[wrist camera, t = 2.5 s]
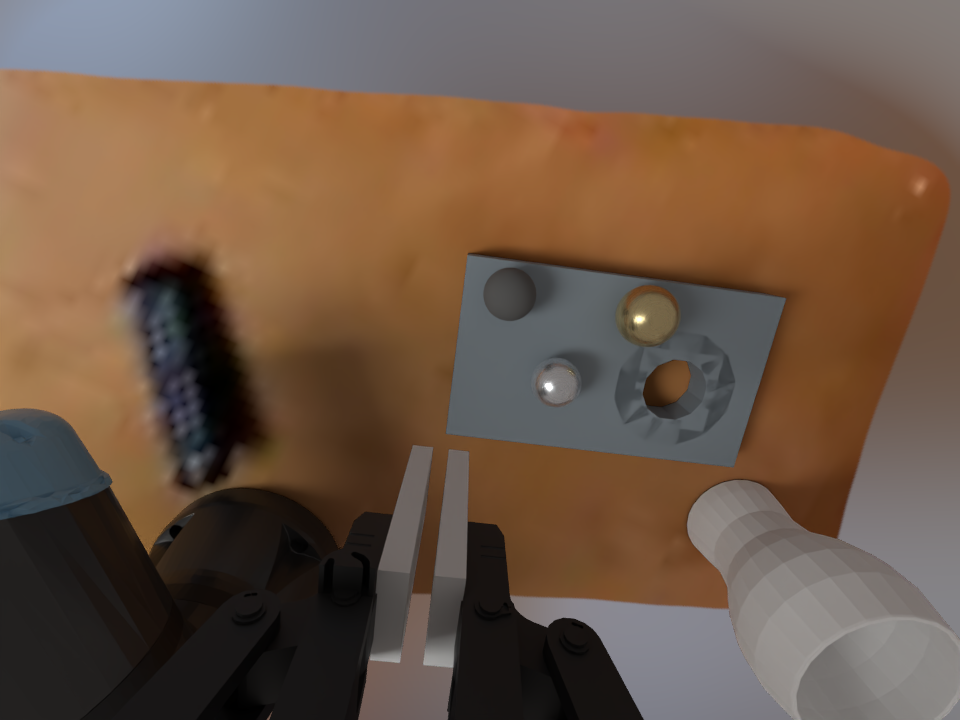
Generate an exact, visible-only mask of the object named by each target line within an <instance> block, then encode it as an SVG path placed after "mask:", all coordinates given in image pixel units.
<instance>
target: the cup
mask: <svg viewBox="0 0 960 720" xmlns="http://www.w3.org/2000/svg"><path fill="white" fill-rule="evenodd" d="M687 529H688V535H689V537H690V539H691V542H692V544H693V545H694V546H695V547H696V548H697V549H698V550H699V551H700V552H701V553H702V554H703V556H704V557H705V558H706V559H707V560H708V561H709V562H710V563H712V564H713V565H714V566H715V567H716V568H717V569H718V570H719V571H720V573H721V575H722V577H723V579H724V581H725V583H726V585H727V589H728V605H729V614H730V618H731V621H732V625H733V628H734V632H735V635H736V638H737V642H738V645H739V647H740V649H741V651H742V653H743V655H744V657H745V659H746V660H747V662H748V664H749V665H750V667H751V669H752V670H753V672H754V673H755V675H756V676H757V678H758V680H759V682H760V683H761V685H762V686H763V688H764V689H765V690H766V691H767V692H768V693H769V694H770V695H771V696H772V698H773V699H774V700H775V701H776V702H777V703H779V705H780V706H781V707H782V708H783V709H784V710H785V711H786V712H787V713H788V714H789V715H790V717H792V719H793V720H942V719H943V718H944V717H945V716H946V715H948V714H949V713H950V711H951V710H952V709H953V707H954V706H955V705H956V703H957V702H958V700H959V699H960V639H959V638H958V636H957V635H956V634H955V633H954V631H953V630H952V629H951V628H950V627H949V625H948V624H947V623H946V622H945V621H944V619H943V618H942V617H941V616H940V614H939V613H938V612H937V611H936V609H935V608H934V607H933V606H932V605H931V603H930V602H929V601H928V600H927V599H926V597H925V596H924V595H923V594H922V593H921V591H920V590H919V589H918V588H917V587H915V586H914V585H913V584H912V583H911V582H909V581H908V580H907V579H906V578H904V577H903V576H902V575H901V574H899V573H898V572H897V571H896V570H894V569H893V568H892V567H891V566H889V565H888V564H887V563H885V562H883V561H882V560H880V559H878V558H877V557H875V556H873V555H872V554H870V553H867V552H865V551H863V550H861V549H859V548H856V547H854V546H852V545H850V544H848V543H846V542H844V541H842V540H839V539H836V538H832V537H828V536H825V535H821V534H817V533H812V532H809V531H808V530H806V529H805V528H803V527H802V526H800V525H799V524H797V523H796V522H794V521H793V520H792V519H791V517H790V516H789V515H788V513H787V512H786V510H785V509H784V508H783V506H782V505H781V504H780V503H779V502H778V500H777V499H776V498H775V497H774V496H773V495H772V494H771V492H770V491H769V490H768V489H767V488H765V487H764V486H762V485H760V484H759V483H756V482H752V481H748V480H732V481H728V482H723V483H720V484H718V485H716V486H714V487H712V488H710V489H709V490H707V491H706V492H705V493H704V494H702V495H701V496H700V497H699V498H698V500H697V501H696V502H695V503H694V504H693V507H692V509H691V511H690V513H689V516H688V521H687Z"/></svg>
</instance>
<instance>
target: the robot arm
mask: <svg viewBox="0 0 960 720" xmlns="http://www.w3.org/2000/svg"><path fill="white" fill-rule="evenodd" d="M432 453H433V447H426V446H417V445H413V447H412V450H411V454H410V457H409V461H408V464H407V468H406V471H405V475H404V478H403V482H402V485H401V489H400V493H399V496H398V500H397V503H396V507H395V510H394V514H393V515H390V514H381V513H371V512H364V513H363V514H362V515H361V516H360V517H358V518H357V519H356V520H355V521H354V523H353V525H352V528H351V530H350V533H349V535H348V537H347V540H346V543H345V545H344V547H343V549H340V550H338V548H337V546H336V543H335V541H334V539H333V538H332V536H331V534H330V533H329V531H328V530H327V529H326V527H325V526H324V525H323V524H322V523H321V522H320V521H319V520H318V519H317V518H316V517H315V516H314V515H313V514H312V513H311V512H309V511H308V510H307V509H305V508H304V507H302V506H301V505H299V504H297V503H296V502H294V501H292V500H290V499H288V498H285V497H283V496H280V495H277V494H274V493H270V492H267V491H262V490H255V489H230V490H223V491H219V492H215V493H212V494H209V495H206V496H204V497H202V498H200V499H198V500H196V501H194V502H193V503H191V504H190V505H189V506H187V507H186V508H185V509H184V510H183V511H182V512H181V513H180V514H179V515H178V516H177V517H175V518H174V519H173V520H172V521H171V522H170V523H169V524H168V525H167V526H166V528H165V529H164V530H163V531H162V532H161V534H160V535H159V537H158V538H157V540H156V541H155V543H154V545H153V547H152V549H151V551H150V554H149V555H148V553H147V551H146V550H145V548H144V546H143V544H142V543H141V541H140V539H139V537H138V536H137V534H136V532H135V530H134V528H133V527H132V525H131V523H130V521H129V520H128V518H127V516H126V514H125V512H124V511H123V509H122V507H121V505H120V504H119V502H118V500H117V498H116V497H115V495H114V493H113V491H112V489H111V488H110V485H111V484H112V479H111V478H110V476H109V474H107V473H105V472H104V471H102V470H100V469H99V467H98V466H97V464H96V463H95V461H94V459H93V458H92V456H91V455H90V453H89V452H88V450H87V449H86V447H85V446H84V444H83V443H82V441H81V440H80V438H79V437H78V435H77V434H76V432H75V430H74V429H73V428H72V426H71V425H70V424H69V423H68V422H67V421H65V420H64V419H63V418H61V417H59V416H57V415H55V414H53V413H50V412H47V411H43V410H37V409H25V408H23V409H10V410H3V411H0V720H267V718H268V717H269V715H270V713H271V712H272V711H273V712H272V714H271V717H270V719H269V720H358V717H359V713H360V708H361V703H362V698H363V693H364V688H365V683H366V675H367V664H368V659H369V656H370V660H375V661H386V662H396V663H400V659H401V653H402V647H403V642H404V636H405V630H406V624H407V618H408V612H409V607H410V600H411V595H412V589H413V583H414V577H415V571H416V566H417V560H418V554H419V548H420V542H421V536H422V531H423V525H424V519H425V513H426V505H427V497H428V488H429V479H430V471H431V462H432ZM468 478H469V451H460V450H452V449H449V453H448V461H447V469H446V477H445V485H444V493H443V501H442V509H441V517H440V525H439V534H438V543H437V551H436V560H435V568H434V577H433V585H432V594H431V603H430V611H429V620H428V628H427V637H426V645H425V654H424V663H423V665H428V666H439V667H450V668H453V676H452V683H451V689H450V696H449V702H448V709H447V711H448V712H449V713H448V720H644V719H643V717H642V716H641V714H640V712H639V710H638V708H637V706H636V704H635V703H634V701H633V699H632V697H631V695H630V693H629V691H628V689H627V688H626V686H625V684H624V682H623V680H622V678H621V676H620V675H619V673H618V671H617V669H616V667H615V665H614V663H613V661H612V660H611V658H610V656H609V654H608V652H607V650H606V648H605V647H604V645H603V643H602V641H601V639H600V638H599V636H598V635H597V634H596V632H595V631H594V630H593V629H592V628H591V627H589V626H588V625H586V624H585V623H583V622H580V621H578V620H576V619H571V618H561V619H558V620H555V621H553V623H551V624H550V625H549V627H548V628H547V627H544V626H542V625H539V624H537V623H534V622H532V621H530V620H528V619H526V618H525V617H523V616H522V615H521V614H520V613H519V612H518V611H517V610H516V609H515V607H514V604H513V603H512V601H511V599H510V593H509V583H508V573H507V562H506V552H505V542H504V535H503V534H502V532H501V531H500V529H499V528H498V526H497V525H494V524H484V523H475V522H468Z"/></svg>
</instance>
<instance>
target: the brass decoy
mask: <svg viewBox="0 0 960 720" xmlns="http://www.w3.org/2000/svg"><path fill="white" fill-rule="evenodd" d="M680 320H681V310H680V306H679V304H678V302H677V300H676V298H675V297H674V296H673V295H672V294H671V293H670V292H669V291H667V290H666V289H664V288H662V287H659V286H654V285H644V286H639V287H636V288H634V289H632V290H630V291H629V292H627V293H626V294H625V295H624V296H623V297H622V299H621V300H620V302H619V303H618V305H617V308H616V312H615V322H616V326H617V329H618V331H619V333H620V334H621V335H622V337H623V338H624V339H625V340H627V341H628V342H630V343H632V344H634V345H636V346H640V347H654V346H658V345H661V344H663V343H665V342H666V341H668V340H669V339H670V338H671V337H672V336H673V335H674V334H675V332H676V331H677V329H678V327H679V324H680Z"/></svg>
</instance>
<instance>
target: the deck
mask: <svg viewBox="0 0 960 720" xmlns="http://www.w3.org/2000/svg"><path fill="white" fill-rule="evenodd" d="M503 268H517V269H520V270H522V271H524V272H525V273H527V274H528V275H529V276H530V277H531V279H532V280H533V282H534V284H535V287H536V301H535V304H534V306H533V308H532V309H531V311H530V312H529V313H528V314H527V315H526V316H524V317H523V318H521V319H518V320H515V321H504V320H501V319H498V318H496V317H495V316H493V315H492V314H491V313H490V312H489V310H488V309H487V307H486V305H485V302H484V298H483V292H484V287H485V284H486V282H487V280H488V279H489V277H490V276H491V275H492V274H493V273H495V272H496V271H498V270H500V269H503ZM644 285H654V286H659V287H662V288H664V289H666V290H667V291H669V292H670V293H671V294H672V295H673V296H674V297H675V298H676V300H677V302H678V304H679V306H680V310H681V320H680V324H679V327H678V329H677V331H676V332H675V334H674V335H673V336H672V337H671V338H670V339H669V340H668V341H666V342H665V343H663V344H661V345H658V346H654V347H640V346H636V345H634V344H632V343H630V342H628V341H627V340H625V339H624V338H623V337H622V335H621V334H620V333H619V331H618V329H617V326H616V322H615V312H616V308H617V305H618V303H619V302H620V300H621V299H622V297H623V296H624V295H625V294H626V293H627V292H629V291H630V290H632V289H634V288H636V287H639V286H644ZM785 301H786V298H783V297H779V296H774V295H770V294H765V293H758V292H751V291H744V290H736V289H729V288H722V287H714V286H707V285H699V284H692V283H685V282H677V281H670V280H662V279H655V278H648V277H640V276H633V275H625V274H618V273H611V272H603V271H596V270H588V269H581V268H574V267H566V266H559V265H551V264H544V263H537V262H529V261H522V260H514V259H507V258H500V257H492V256H485V255H477V254H470V253H468V256H467V265H466V273H465V281H464V289H463V297H462V305H461V314H460V322H459V330H458V338H457V346H456V354H455V363H454V371H453V379H452V387H451V395H450V403H449V411H448V420H447V428H446V434H451V435H459V436H468V437H477V438H485V439H494V440H502V441H511V442H520V443H528V444H537V445H545V446H554V447H563V448H571V449H580V450H588V451H597V452H606V453H614V454H623V455H631V456H640V457H648V458H657V459H666V460H674V461H683V462H691V463H700V464H709V465H717V466H726V467H734V464H735V461H736V458H737V454H738V451H739V448H740V445H741V442H742V438H743V435H744V432H745V429H746V426H747V422H748V419H749V416H750V413H751V410H752V406H753V403H754V400H755V397H756V394H757V390H758V387H759V384H760V381H761V378H762V374H763V371H764V368H765V365H766V362H767V358H768V355H769V352H770V349H771V346H772V342H773V339H774V336H775V333H776V330H777V326H778V323H779V320H780V317H781V314H782V310H783V307H784V304H785ZM549 358H563V359H566V360H568V361H570V362H571V363H572V364H573V365H575V367H576V368H577V369H578V371H579V373H580V376H581V381H582V385H581V390H580V393H579V395H578V397H577V398H576V399H575V400H574V401H573V402H572V403H571V404H569V405H567V406H564V407H560V408H553V407H548V406H546V405H544V404H542V403H541V402H540V401H538V400H537V398H536V397H535V396H534V394H533V392H532V388H531V377H532V374H533V371H534V369H535V368H536V367H537V366H538V365H539V364H540V363H541V362H543V361H544V360H546V359H549ZM671 360H682V361H687V363H688V366H689V370H690V373H691V378H690V382H689V386H688V389H687V391H686V392H685V393H684V394H683V395H682V396H681V397H680V399H679V400H678V401H677V402H674V403H672V404H669V405H666V406H664V407H656V406H648V405H646V404H645V401H644V398H643V395H642V393H643V389H644V385H645V381H646V378H647V377H648V376H649V375H650V374H651V373H652V371H653V370H654V369H655V368H656V367H657V366H658V365H661V364H663V363H666V362H669V361H671Z"/></svg>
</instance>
